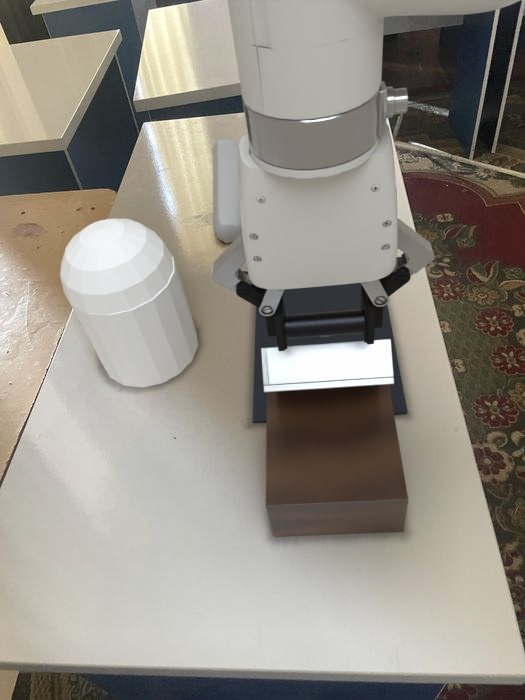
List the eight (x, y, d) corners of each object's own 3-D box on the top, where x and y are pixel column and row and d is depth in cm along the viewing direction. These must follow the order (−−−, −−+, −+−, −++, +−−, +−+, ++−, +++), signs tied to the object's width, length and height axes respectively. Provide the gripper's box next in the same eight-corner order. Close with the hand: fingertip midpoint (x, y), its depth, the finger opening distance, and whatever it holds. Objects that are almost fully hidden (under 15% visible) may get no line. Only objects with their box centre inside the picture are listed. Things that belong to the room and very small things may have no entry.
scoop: (404, 385, 42) (398, 305, 42) (255, 394, 43) (250, 316, 43) (378, 382, 60) (374, 327, 61) (276, 389, 61) (272, 335, 62)
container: (92, 390, 74) (25, 274, 59) (111, 317, 82) (57, 200, 68) (193, 384, 72) (151, 264, 57) (202, 310, 81) (167, 189, 66)
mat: (407, 414, 65) (407, 412, 65) (253, 423, 67) (252, 421, 67) (371, 224, 89) (371, 222, 89) (258, 235, 91) (258, 233, 91)
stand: (403, 532, 57) (408, 499, 51) (273, 537, 58) (265, 506, 53) (385, 419, 65) (388, 382, 60) (273, 425, 67) (266, 389, 61)
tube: (248, 224, 87) (243, 140, 103) (213, 219, 86) (213, 135, 102) (242, 251, 91) (238, 166, 107) (209, 247, 90) (209, 162, 106)
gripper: (454, 72, 34) (425, 293, 47) (170, 106, 35) (220, 310, 49) (487, 136, 29) (444, 362, 42) (155, 172, 30) (215, 379, 44)
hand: (324, 333), depth 45 cm, fingers closed on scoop, 6 cm apart
